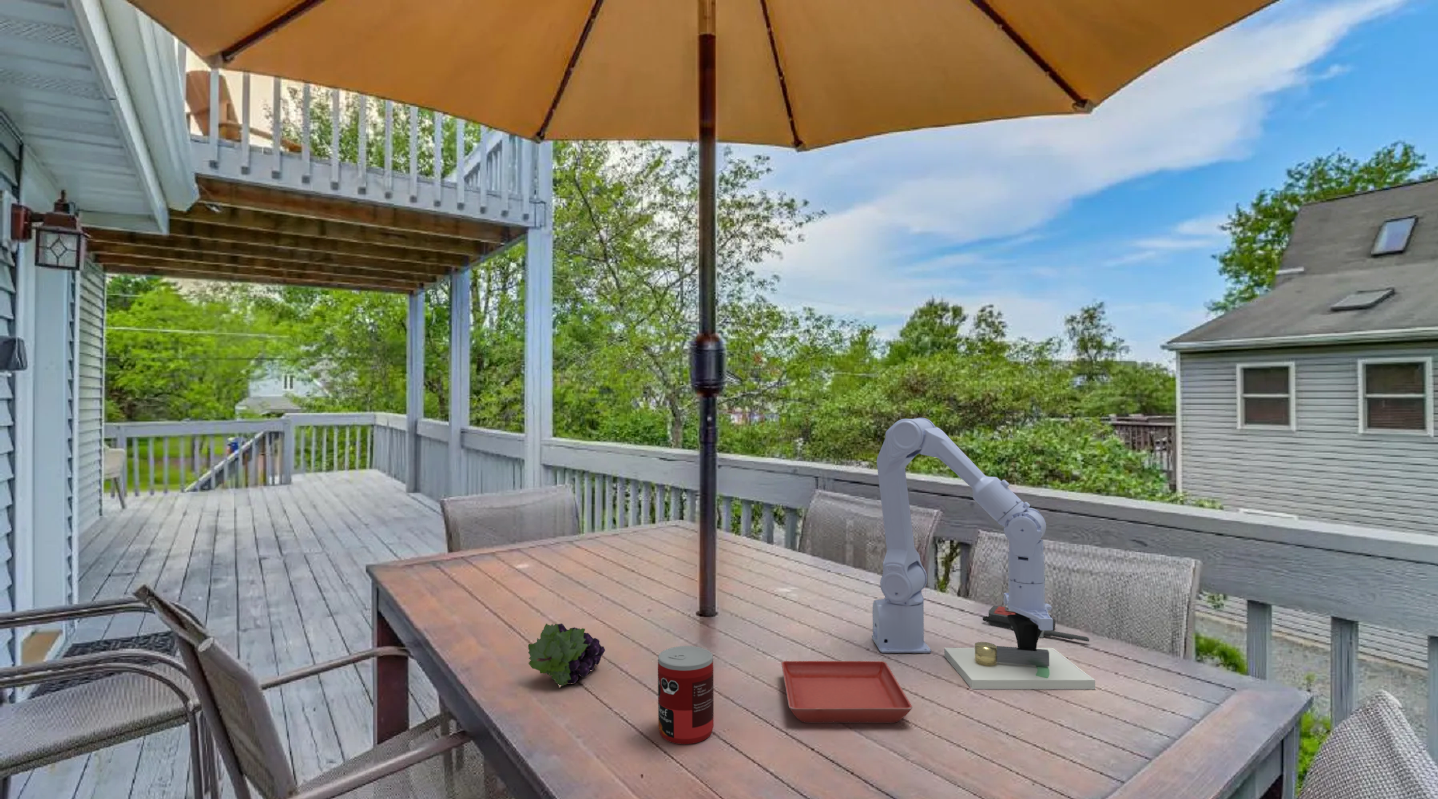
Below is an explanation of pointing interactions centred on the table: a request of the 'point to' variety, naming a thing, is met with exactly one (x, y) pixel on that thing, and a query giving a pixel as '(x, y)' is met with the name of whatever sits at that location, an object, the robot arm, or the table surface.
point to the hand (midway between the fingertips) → (1027, 657)
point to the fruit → (565, 653)
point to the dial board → (1018, 672)
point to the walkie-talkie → (1000, 619)
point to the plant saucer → (844, 692)
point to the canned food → (685, 694)
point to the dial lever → (1009, 655)
